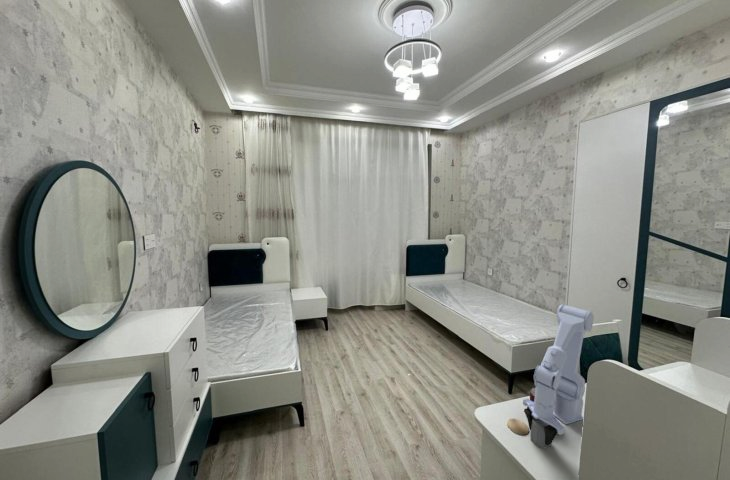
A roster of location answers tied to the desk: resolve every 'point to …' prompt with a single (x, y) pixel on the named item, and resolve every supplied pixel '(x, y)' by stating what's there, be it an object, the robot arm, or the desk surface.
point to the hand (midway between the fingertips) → (540, 436)
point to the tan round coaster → (518, 426)
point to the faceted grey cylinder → (538, 432)
